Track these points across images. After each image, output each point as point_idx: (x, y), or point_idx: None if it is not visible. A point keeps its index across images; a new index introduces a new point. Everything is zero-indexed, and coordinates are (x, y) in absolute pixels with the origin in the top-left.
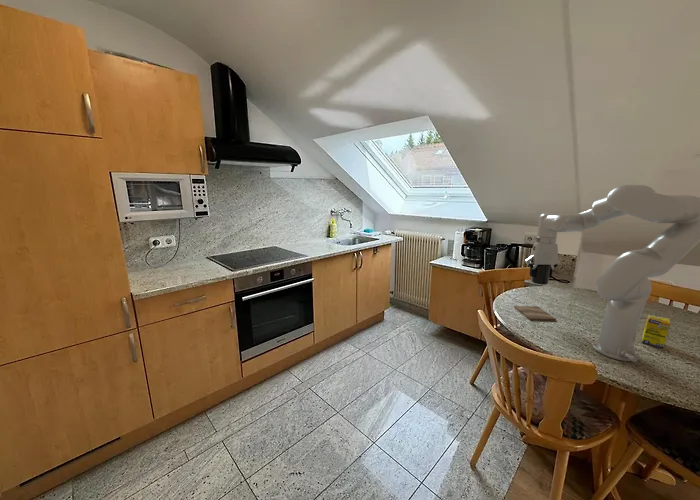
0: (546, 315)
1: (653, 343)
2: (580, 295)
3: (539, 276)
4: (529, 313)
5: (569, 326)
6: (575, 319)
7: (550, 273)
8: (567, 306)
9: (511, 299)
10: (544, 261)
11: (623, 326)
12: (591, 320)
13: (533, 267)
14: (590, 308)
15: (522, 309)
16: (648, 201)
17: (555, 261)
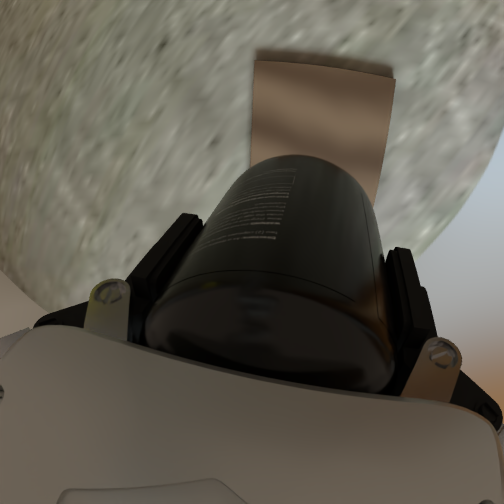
0: (279, 99)
1: None
2: (54, 278)
3: (364, 222)
4: (357, 130)
5: (231, 8)
6: (154, 81)
7: (175, 247)
8: (116, 207)
9: None
10: (299, 470)
11: None
12: (101, 81)
13: (444, 368)
14: (58, 188)
15: (359, 179)
16: None
17: (16, 370)
